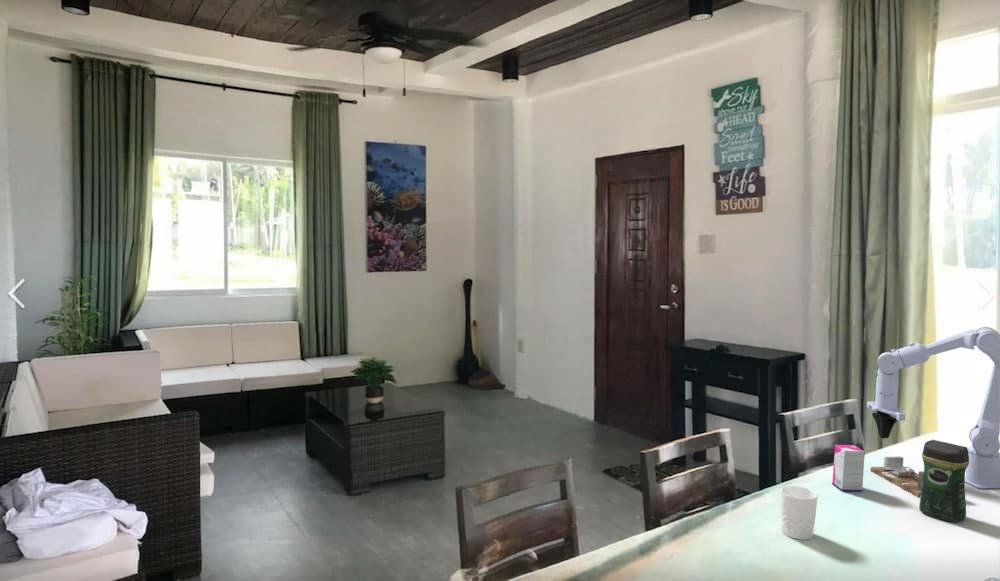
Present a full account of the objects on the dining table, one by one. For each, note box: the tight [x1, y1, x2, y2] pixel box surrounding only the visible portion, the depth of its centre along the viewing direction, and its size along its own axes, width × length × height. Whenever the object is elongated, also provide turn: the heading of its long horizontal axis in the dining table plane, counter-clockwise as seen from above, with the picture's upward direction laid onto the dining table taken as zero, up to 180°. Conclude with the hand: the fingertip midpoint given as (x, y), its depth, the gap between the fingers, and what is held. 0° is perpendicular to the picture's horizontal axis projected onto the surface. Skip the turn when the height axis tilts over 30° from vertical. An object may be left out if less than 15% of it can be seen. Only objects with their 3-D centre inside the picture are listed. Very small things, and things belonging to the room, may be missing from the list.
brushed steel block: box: [883, 456, 916, 477], centre depth 195 cm, size 8×8×4 cm
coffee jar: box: [918, 439, 969, 522], centre depth 169 cm, size 10×8×19 cm
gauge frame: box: [870, 466, 924, 498], centre depth 191 cm, size 20×10×6 cm, turn 5°
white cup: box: [780, 485, 819, 541], centre depth 159 cm, size 8×8×10 cm
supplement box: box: [832, 444, 866, 493], centre depth 187 cm, size 6×6×12 cm
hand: (883, 437), depth 202 cm, fingers closed
